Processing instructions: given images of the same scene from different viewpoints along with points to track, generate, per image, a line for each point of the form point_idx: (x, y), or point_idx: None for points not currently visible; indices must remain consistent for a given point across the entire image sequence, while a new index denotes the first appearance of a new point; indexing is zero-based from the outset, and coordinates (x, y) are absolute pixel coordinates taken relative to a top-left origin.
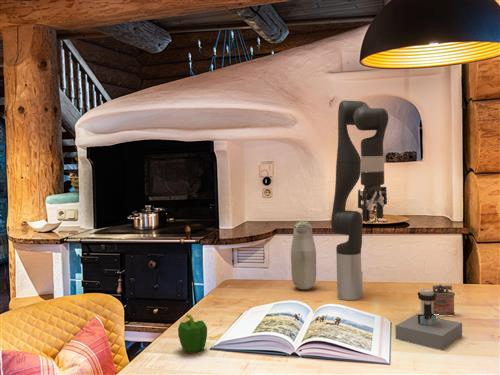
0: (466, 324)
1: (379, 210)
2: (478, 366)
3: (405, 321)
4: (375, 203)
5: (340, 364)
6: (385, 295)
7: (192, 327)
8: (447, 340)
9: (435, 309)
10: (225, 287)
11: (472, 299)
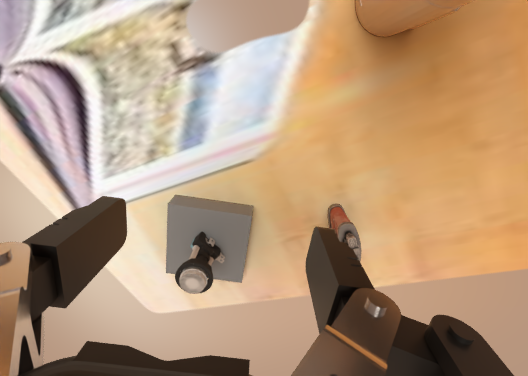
0: (300, 263)
1: (322, 291)
2: (151, 300)
3: (197, 211)
4: (337, 319)
5: (25, 161)
6: (435, 83)
7: None
8: None
9: (331, 220)
10: None
11: (451, 246)
